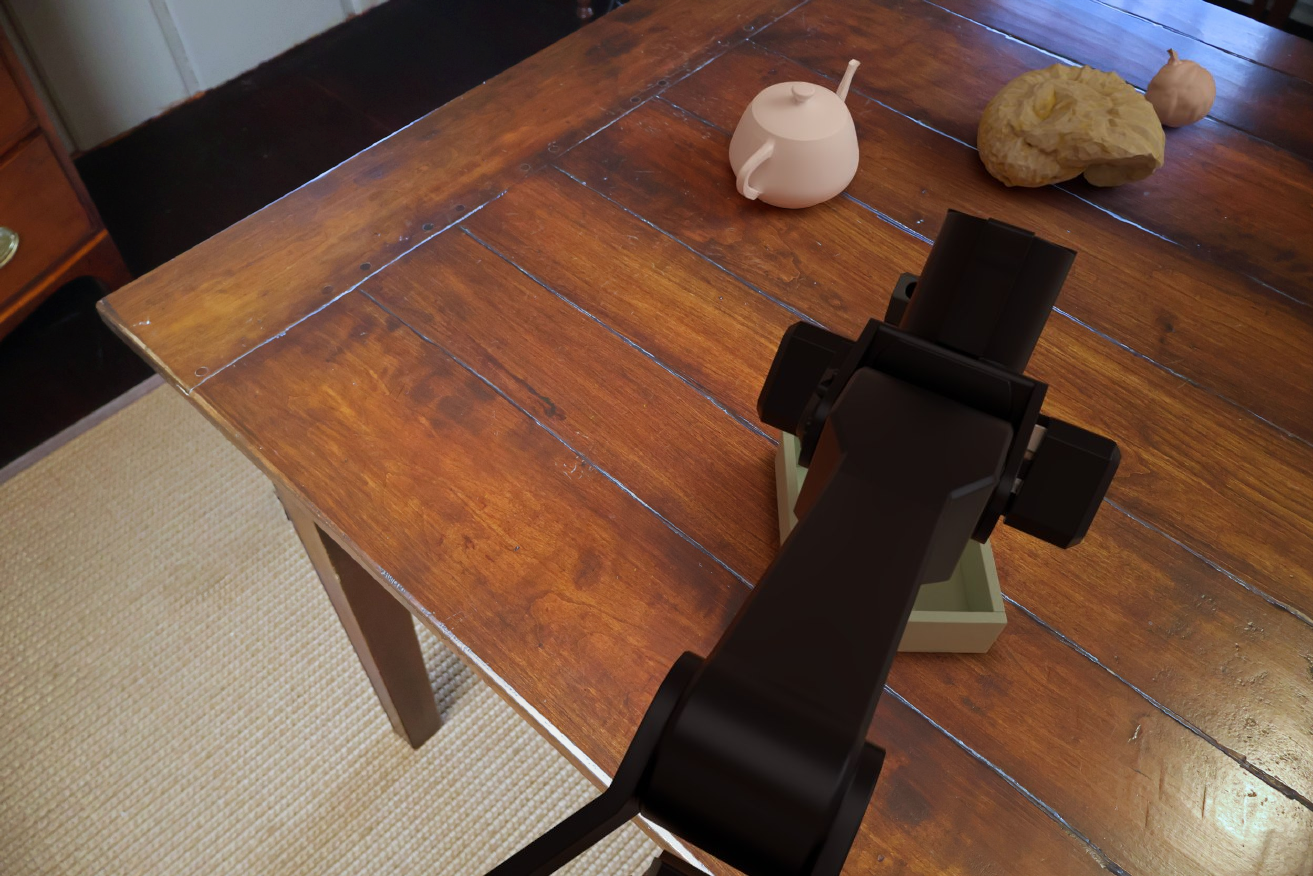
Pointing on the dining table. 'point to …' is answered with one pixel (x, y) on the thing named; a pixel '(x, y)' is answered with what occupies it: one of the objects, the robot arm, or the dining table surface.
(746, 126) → the teapot
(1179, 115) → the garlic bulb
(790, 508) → the open box
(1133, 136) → the seashell
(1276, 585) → the dining table surface
